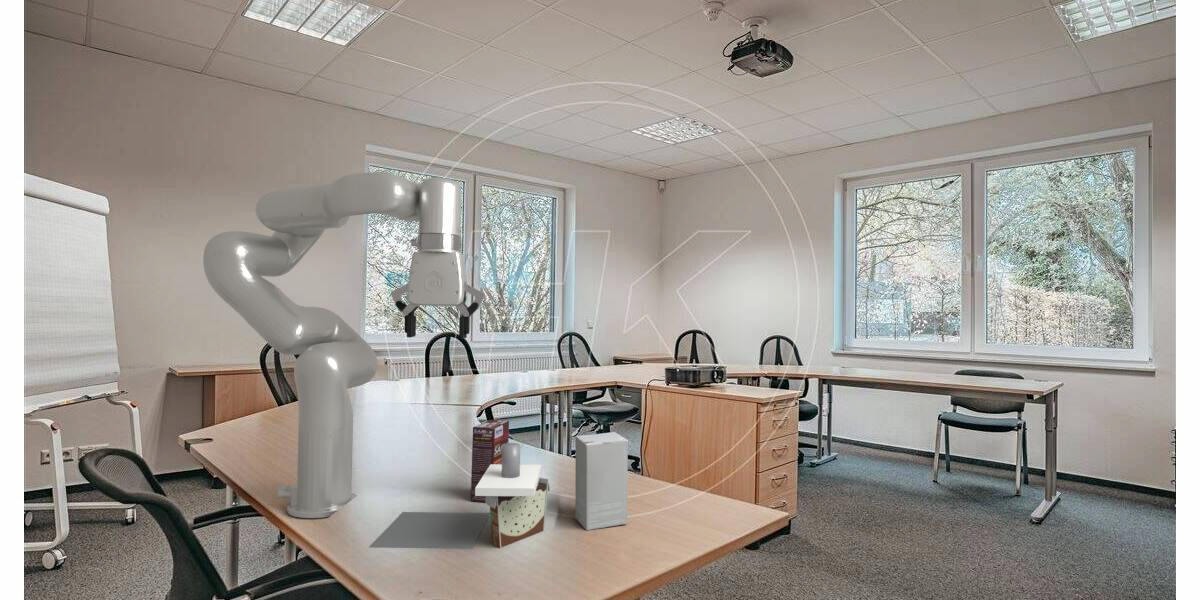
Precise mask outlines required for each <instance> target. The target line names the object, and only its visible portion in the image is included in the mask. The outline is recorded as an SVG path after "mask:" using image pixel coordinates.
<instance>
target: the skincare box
mask: <svg viewBox="0 0 1200 600" xmlns="http://www.w3.org/2000/svg"><path fill="white" fill-rule="evenodd" d="M628 448H629V440H628V439H626V438H625V437H623V436H622V435H621V434H619V433H618V432H616V431H612V432H603V433H595V434H586V435H585V434H584V435H582V434H581V435H575V517H574V518H575V520H577V522H578V523H579V524H580V525H581V526H582V528H584V530H585V531H592V530H598V529H599V530H600V529H603V528H609V527H616V526H622V525H628V479H629V478H628V470H629V469H628V468H629V467H628V461H629V460H628V459H629V458H628V451H629V449H628Z"/></svg>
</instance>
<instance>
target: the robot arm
mask: <svg viewBox="0 0 1200 600" xmlns="http://www.w3.org/2000/svg"><path fill="white" fill-rule="evenodd" d="M255 213H256V214H255V215H256V216H257V217H256V218H257V219H258V221H259V222H260V223H261V224H262V225H263V226H264V227H266V228H267V229H269V230H271V231H273V234H272V235H265V234H260V233H255V232H248V231H240V230H230V231H229V230H228V231H224V232H220V233H217V234H215V235H214V236H213V237H211V238H210V239H209V240H208V242H207V243H206V244H205V247H204V250H203V255H202V256H203V257H202V262H203V263H202V264H203V270H204V274H205V277H206V280H207V281H208V284H209V285H210V286H211V288H212V289H213V291H214V292H215V293H216V294H217V295H218V296H219V297H220V299H222V301H224V302H225V303H226V304H228V306H230V307H231V308H232V309H233V310H234V311H235V312H237V314H238V315H239V316H241V318H243V319H244V320H245V322H246V323H247V324H248V325H249V326H250V327H251V328H252V329H253V330H254V331H255V332H256V333H257V334H258V335H259V336H260V337H261V339H263V340H264V341H265V342H266V343H267V344H268V345H269V346H270V347H271V348H272V349H274V350H275V351H276V352H277V353H280V354H283V355H288V356H289V355H291V356H292V355H294V356H295V355H296V356H297V355H298V356H297V358H296V360H295V364H294V369H293V370H294V371H293V373H294V374H293V375H294V383H295V387H296V388H295V389H296V393H297V400H298V403H297V404H298V436H297V437H298V438H297V439H298V440H297V446H298V447H297V475H296V476H297V478H296V479H297V480H296V481H297V482H296V484H295V485H290V484H281V485H280V484H279V486H278V488H277V490H276V491H277V498H278V499H285V498H286V499H290V503H288V505H287V510H286V511H287V512H286V513H287V514H288V515H290V516H291V517H295V518H300V519H320V518H330V517H331V516H333V515H334V514H335V513H337V512H338V511H339V510H341V509H342V508H343V507H344V506H346V505H347V504H348V503H350V502H351V501H352V500H354V499H355V498H356V497H358V495H357V494H355V493H354V492H352V489H353V487H352V486H353V484H352V483H353V476H352V475H353V446H354V445H353V443H354V442H353V440H354V410H353V405H352V401H351V398H350V395H349V392H348V389H352V388H356V387H360V386H362V385H365V384H367V383H368V382H370V381H371V380H372V379H373V378H374V376H375V375H376V374H377V371H378V358H377V355H376V352H375V351H374V349H373V348H372V346H371V345H370V344H369V343H368V342H367V341H366V340H365V339H364V338H363V337H362V336H361V335H360V334H359V333H358V332H357V331H355V330H354V329H353V328H352V327H351V326H350V325H349V324H348V323H347V322H346V321H345V320H344V319H343V318H342V317H340V316H339V315H338V314H336V313H335V312H333V311H332V310H330V309H327V308H324V307H318V306H303V305H299V304H297V303H296V302H294V301H293V300H292V299H291V298H289V297H288V296H287V295H286V294H285V293H284V292H283V291H282V290H281V288H279V287H277V286H276V285H275V284H273V282H271V281H269V280H267V279H266V278H264V277H272V278H274V277H281V276H283V275H285V274H287V273H289V272H290V271H292V270H293V269H294V268H295V266H297V264H298V263H300V261H301V260H302V259H303V258H304V257H305V255H306V254H307V253H308V252H309V250H311V248H313V246H314V245H315V244H316V242H318V240H319V239H320V238H321V236H323V235H324V233H325V231H326V230H328V229H329V230H330V229H331V230H332V229H338V228H342V227H343V226H345V225H346V224H347V222H348V221H349V218H350V217H353V216H361V215H372V214H373V215H375V214H378V215H380V214H381V215H386V216H389V217H392V218H395V219H398V220H401V221H405V222H418V235H417V236H416V238H412V239H410V246H411V247H415V248H416V249H417V251H413V253H412V257H411V261H410V267H409V274H408V282H407V283H406V284H404V285H402V286H399V287H398V288H396V289H394V290H392V291H391V292H390V296H391V298H392V300H393V302H394V303H395V306H396V308H397V309H398V310H399V311H400V312H401V313H402V315H403V316H404V327H403V328H404V329H403V330H404V333H406V337H407V338H414V337H416V335H417V334H416V333H417V332H416V331H417V316H416V315H415V312H416V311H417V310H418V309H419V308H420V307H421V306H423V307H425V306H426V307H427V306H429V307H430V306H431V307H456V309H457V310H458V311H459V312H460V313H461V316H460V317H459V318H458V319H459V321H458V322H459V323H458V324H459V326H458V327H459V328H458V329H459V330H458V338H460V339H467V336H468V335H469V334H470V331H471V330H470V329H471V328H470V327H471V325H470V324H471V322H470V321H471V316H472V315H473V314H474V313H475V312H476V311H477V310H479V309H480V306H481V304H482V303H483V300H484V299H485V297H486V294H485V293H484V292H482V291H481V290H479V289H476V288H475V287H473V286H471V285H469V284H468V283H467V272H466V271H467V270H466V263H465V258H464V257H465V256H464V253H462V252H461V226H462V225H461V223H462V222H461V215H462V187H461V185H460V183H458V181H456V180H454V179H449V178H444V177H429V178H425V179H423V180H422V181H421V183H417V182H414V181H411V180H409V179H406V178H404V177H402V176H400V175H397V174H395V173H392V172H387V171H386V172H385V171H372V172H363V173H362V172H361V173H353V174H346V175H342V176H339V177H337V179H335V180H333V181H330V183H325V184H317V185H306V186H299V187H297V186H296V187H287V188H278V189H274V190H270V191H267V192H265V193H264V194H262V195H261V196H260V197H259V198H258V199H257V202H256V203H255ZM404 294H407V295H406V296H407V297H406V298H407V302H408V304H406V302H405V301H404V300H403V298H402V296H403V295H404ZM468 294H470V295H471V296H473V297H474V300H473V302H472V303H471V304H470V305H469V306H467V304H466V302H467V297H468V296H467V295H468Z"/></svg>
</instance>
